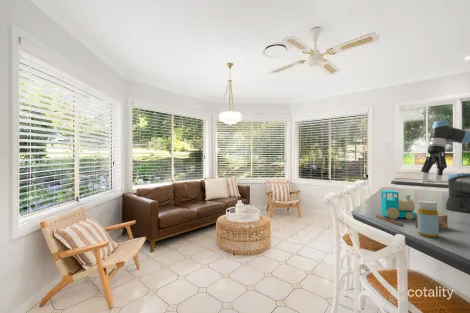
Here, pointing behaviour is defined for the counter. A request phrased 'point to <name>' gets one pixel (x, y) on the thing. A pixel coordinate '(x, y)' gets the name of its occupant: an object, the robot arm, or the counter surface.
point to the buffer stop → (441, 221)
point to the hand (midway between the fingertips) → (430, 182)
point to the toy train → (397, 206)
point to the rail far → (389, 220)
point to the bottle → (428, 218)
